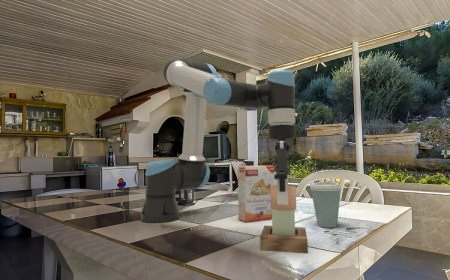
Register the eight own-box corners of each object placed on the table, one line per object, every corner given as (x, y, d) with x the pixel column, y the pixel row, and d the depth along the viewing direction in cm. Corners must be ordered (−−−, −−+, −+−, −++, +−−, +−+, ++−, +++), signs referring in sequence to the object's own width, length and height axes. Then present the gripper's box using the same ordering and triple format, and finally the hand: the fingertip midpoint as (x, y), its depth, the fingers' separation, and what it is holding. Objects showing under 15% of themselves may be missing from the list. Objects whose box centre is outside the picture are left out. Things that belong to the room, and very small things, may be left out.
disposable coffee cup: (339, 230, 94) (337, 184, 95) (306, 226, 100) (305, 183, 101) (345, 224, 103) (344, 182, 104) (315, 220, 109) (314, 180, 110)
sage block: (272, 239, 78) (272, 209, 79) (273, 233, 84) (273, 206, 84) (295, 240, 77) (294, 210, 77) (294, 234, 83) (294, 206, 83)
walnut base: (260, 249, 76) (260, 236, 76) (264, 237, 87) (264, 225, 88) (307, 253, 73) (307, 239, 73) (305, 239, 85) (305, 227, 85)
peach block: (270, 210, 78) (269, 187, 78) (271, 205, 85) (271, 185, 85) (296, 211, 77) (296, 188, 77) (296, 206, 83) (295, 185, 84)
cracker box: (246, 223, 106) (245, 166, 107) (237, 219, 111) (237, 165, 112) (276, 218, 112) (275, 165, 114) (267, 216, 118) (266, 164, 119)
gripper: (296, 119, 69) (298, 208, 68) (294, 128, 93) (296, 194, 92) (264, 120, 71) (266, 207, 70) (271, 129, 95) (272, 194, 94)
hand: (283, 200), depth 81 cm, fingers open, 13 cm apart
